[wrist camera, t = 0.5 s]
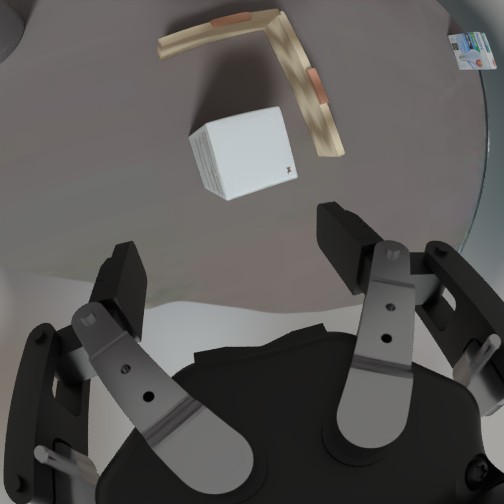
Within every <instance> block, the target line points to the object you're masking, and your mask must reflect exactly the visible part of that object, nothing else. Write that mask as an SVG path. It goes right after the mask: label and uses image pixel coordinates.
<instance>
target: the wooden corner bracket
mask: <svg viewBox="0 0 504 504" xmlns="http://www.w3.org/2000/svg"><path fill="white" fill-rule="evenodd" d="M262 29H263V30H264V32H265V34H266V36H267V38H268V40H269V41H270V43H271V45H272V47H273V49H274V51H275V54H276V56H277V58H278V60H279V62H280V64H281V66H282V68H283V70H284V72H285V75H286V77H287V79H288V81H289V83H290V86H291V88H292V90H293V93H294V95H295V97H296V100H297V102H298V104H299V107H300V109H301V111H302V114H303V116H304V119H305V121H306V124H307V126H308V129H309V131H310V134H311V137H312V139H313V142H314V145H315V147H316V150H317V153H318V156H331V157H339V156H341V155H344V154H345V152H344V149H343V146H342V143H341V140H340V138H339V135H338V132H337V129H336V126H335V124H334V121H333V118H332V115H331V113H330V110H329V108H328V105H327V103H328V102H329V100H328V98H327V95H326V93H325V91H324V88H323V86H322V83H321V81H320V79H319V76H318V74H317V72H316V70H315V68H312V67H311V65H310V63H309V61H308V58H307V56H306V54H305V52H304V50H303V48H302V46H301V44H300V42H299V40H298V38H297V36H296V34H295V32H294V30H293V28H292V26H291V24H290V22H289V21H288V19H287V17H286V15H285V13H284V12H283V11H281V12H279V10H278V8H277V9H270V10H263V11H257V12H252V13H249V11H248V12H243V13H238V14H233V15H229V16H225V17H220V18H217V19H213V20H211V21H210V22H208V23H205V24H201V25H198V26H195V27H191V28H188V29H185V30H182V31H179V32H176V33H173V34H171V35H168V36H165V37H163V38H160V39H158V49H157V55H158V57H159V59H160V61H161V60H164V59H166V58H169V57H171V56H174V55H177V54H179V53H182V52H185V51H187V50H190V49H193V48H196V47H199V46H202V45H205V44H208V43H211V42H215V41H218V40H221V39H225V38H229V37H232V36H236V35H240V34H244V33H248V32H253V31H257V30H262Z"/></svg>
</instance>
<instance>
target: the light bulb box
mask: <svg viewBox="0 0 504 504" xmlns="http://www.w3.org/2000/svg"><path fill="white" fill-rule="evenodd" d="M448 38H449V41H450V43H451V46H452V49H453V51H454V54H455V57H456V60H457V63H458V66H459V69H460V70H473V69H495V68H497V67H496V64H495V61H494V58H493V55H492V52H491V49H490V46H489V44H488V41H487V38H486V36H485V34H484V33H480V32H471V33H462V34H455V35H448Z"/></svg>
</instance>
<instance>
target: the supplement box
mask: <svg viewBox="0 0 504 504" xmlns="http://www.w3.org/2000/svg"><path fill="white" fill-rule="evenodd" d="M189 140H190V143H191V146H192V149H193V153H194V156H195V159H196V162H197V165H198V169H199V172H200V175H201V178H202V181H203V184H204V187H205V188H206V189H208V190H209V191H211V192H213V193H215V194H217V195H219V196H221V197H222V198H224V199H226V200H231V199H234V198H237V197H240V196H243V195H246V194H249V193H252V192H255V191H257V190H261V189H264V188H267V187H270V186H272V185H276V184H279V183H282V182H285V181H288V180H291V179H295V178H297V177H298V175H297V171H296V168H295V164H294V160H293V156H292V152H291V148H290V144H289V140H288V136H287V132H286V128H285V125H284V121H283V117H282V114H281V110H280V108H279V106H276V107H269V108H264V109H259V110H254V111H249V112H245V113H241V114H237V115H233V116H229V117H225V118H221V119H218V120H214V121H211V122H208V123H206V124H204V125H203V126H202V127H201V128H199V129H198V130H196V131H195V132H194V133H193V134H191V135H190V136H189Z"/></svg>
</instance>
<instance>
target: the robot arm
mask: <svg viewBox="0 0 504 504" xmlns="http://www.w3.org/2000/svg"><path fill="white" fill-rule="evenodd" d="M23 31H24V20H23V19H22V18H21V17H20V15H19V14H18V13H17V12H16V11H15V10H14V8H13V7H12V6H11V5H10V4H9V3H8V1H7V0H0V63H1V62H2V61H4V60H5V59H6V58H7V57H8V56H9V55H10V54H11V52H12V51H13V50H14V49H15V47H16V46H17V44H18V43H19V41H20V39H21V37H22V34H23ZM317 242H318V245H319V247H320V249H321V250H322V252H323V253H324V254H325V256H326V257H327V259H328V260H329V261H330V263H331V264H332V266H333V267H334V268H335V270H336V271H337V273H338V274H339V276H340V277H341V278H342V280H343V281H344V283H345V284H346V286H347V287H348V289H349V290H350V292H351V293H352V294H353V296H354V295H357V294H360V293H364V294H365V299H364V303H363V308H362V312H361V317H360V321H359V326H358V330H357V334H356V335H353V334H349V333H344V332H327V331H326V329H325V327H324V325H323V323H321V324H317V325H314V326H310V327H306V328H303V329H299V330H296V331H292V332H290V333H288V334H286V335H284V336H282V337H280V338H278V339H276V340H274V341H272V342H270V343H268V344H266V345H263V346H260V347H259V346H258V347H222V348H217V349H212V350H207V351H201V352H196V353H194V361H195V363H193V364H190V365H188V366H186V367H185V368H183V369H182V370H180V371H179V372H177V373H176V374H175V375H174V376H172V377H170V376H169V375H168V374H167V373H166V372H164V370H162V368H161V367H160V366H158V364H157V363H156V362H155V361H154V360H153V359H152V358H151V357H150V356H149V355H148V354H147V353H146V352H145V351H144V350H143V349H142V348H141V346H140V345H139V344H137V342H141V338H142V326H143V316H144V306H145V298H146V289H147V276H146V272H145V269H144V266H143V264H142V261H141V259H140V256H139V254H138V251H137V248H136V246H135V244H134V242H133V241H129V242H125V243H121V244H117V245H116V246H115V248H114V251H113V254H112V257H111V258H107V260H106V261H105V262H104V263H103V264H102V266H101V267H100V270H99V273H98V276H97V279H96V283H95V284H94V287H93V290H92V294H91V297H90V300H89V303H88V304H85V305H83V306H82V307H80V308H79V309H78V310H77V311H76V312H75V314H74V315H73V317H72V322H71V325H69V326H67V327H65V328H62V329H61V330H58V331H56V330H55V329H54V327H53V326H52V325H51V324H49V323H43V324H40V325H39V326H37V327H36V328H34V329H33V330H32V332H31V333H30V334H29V336H28V338H27V341H26V345H25V348H24V351H23V355H22V358H21V362H20V366H19V369H18V373H17V377H16V382H15V386H14V390H13V395H12V401H11V406H10V411H9V418H8V425H7V433H6V442H5V455H4V486H5V489H6V492H7V494H8V496H9V497H10V498H11V499H12V501H13V502H15V503H16V504H504V473H503V472H501V471H500V470H499V469H497V468H496V467H495V466H494V465H493V464H492V463H491V462H490V461H489V459H488V458H487V456H486V454H485V450H484V446H483V441H482V434H481V417H483V416H490V415H492V414H494V413H495V412H496V411H497V410H498V409H500V408H501V407H502V406H503V405H504V302H503V301H502V300H501V298H500V297H499V296H498V295H497V294H496V293H495V291H494V290H493V289H492V288H491V287H490V286H489V285H488V284H487V282H486V281H484V279H483V278H482V277H481V276H480V275H479V274H478V273H477V272H476V271H475V270H474V268H473V267H472V266H471V265H470V264H469V263H468V262H467V261H466V260H465V259H464V258H463V257H462V256H461V255H460V254H459V253H458V252H457V251H456V250H455V249H453V248H452V247H451V246H450V245H448V244H446V243H444V242H441V241H430V242H428V243H427V245H426V248H425V252H409V250H408V249H407V248H406V247H405V246H404V245H403V244H401V243H399V242H396V241H391V240H385V241H384V240H383V239H382V238H381V237H380V236H379V235H378V234H377V233H376V232H375V231H374V230H373V229H372V228H371V227H369V226H368V225H367V224H366V223H365V222H363V220H362V219H361V218H360V217H359V216H358V215H356V214H354V213H352V212H350V211H348V210H344V209H343V208H342V207H341V206H340V205H339V204H337V203H336V202H335V201H334V202H327V203H321V204H318V206H317ZM445 287H446V288H447V289H448V291H449V292H450V293H451V294H452V295H453V297H454V298H455V301H456V309H455V311H454V310H453V308H452V307H451V306H450V305H449V304H448V302H447V301H446V300H445V298H444V297H443V296H442V294H443V291H444V289H445ZM415 311H416V313H417V314H418V316H419V317H420V318H421V320H422V321H423V323H424V324H425V326H426V327H427V329H428V330H429V332H430V333H431V335H432V336H433V338H434V339H435V341H436V342H437V344H438V346H439V347H440V349H441V350H442V352H443V354H444V355H445V357H446V358H447V360H448V362H449V363H450V365H451V367H452V368H453V379H454V380H452V379H450V378H447V377H445V376H443V375H441V374H438V373H436V372H434V371H432V370H429V369H427V368H425V367H423V366H421V365H419V364H416V363H414V362H412V352H413V339H414V321H415ZM97 375H98V376H99V377H100V379H101V381H102V382H103V384H104V385H105V387H106V388H107V390H108V391H109V392H110V394H111V395H112V397H113V398H114V399H115V401H116V402H117V404H118V405H119V406H120V408H121V409H122V410H123V412H124V413H125V414H126V416H127V417H128V418H129V419H130V421H131V422H132V423H133V424H134V426H135V428H134V429H133V431H132V432H131V433H130V435H129V436H128V437H127V439H126V440H125V442H124V443H123V444H122V446H121V447H120V449H119V450H118V452H117V453H116V454H115V456H114V457H113V459H112V460H111V462H110V463H109V464H108V465H107V467H106V468H105V470H104V471H103V472H102V474H101V476H100V475H99V474H98V473H97V470H96V467H95V465H94V463H93V461H92V460H91V459H90V458H88V410H89V393H90V380H91V378H92V377H95V376H97ZM54 376H55V377H56V378H57V379H58V382H57V388H56V396H55V398H54V396H53V392H52V386H53V381H54Z"/></svg>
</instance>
